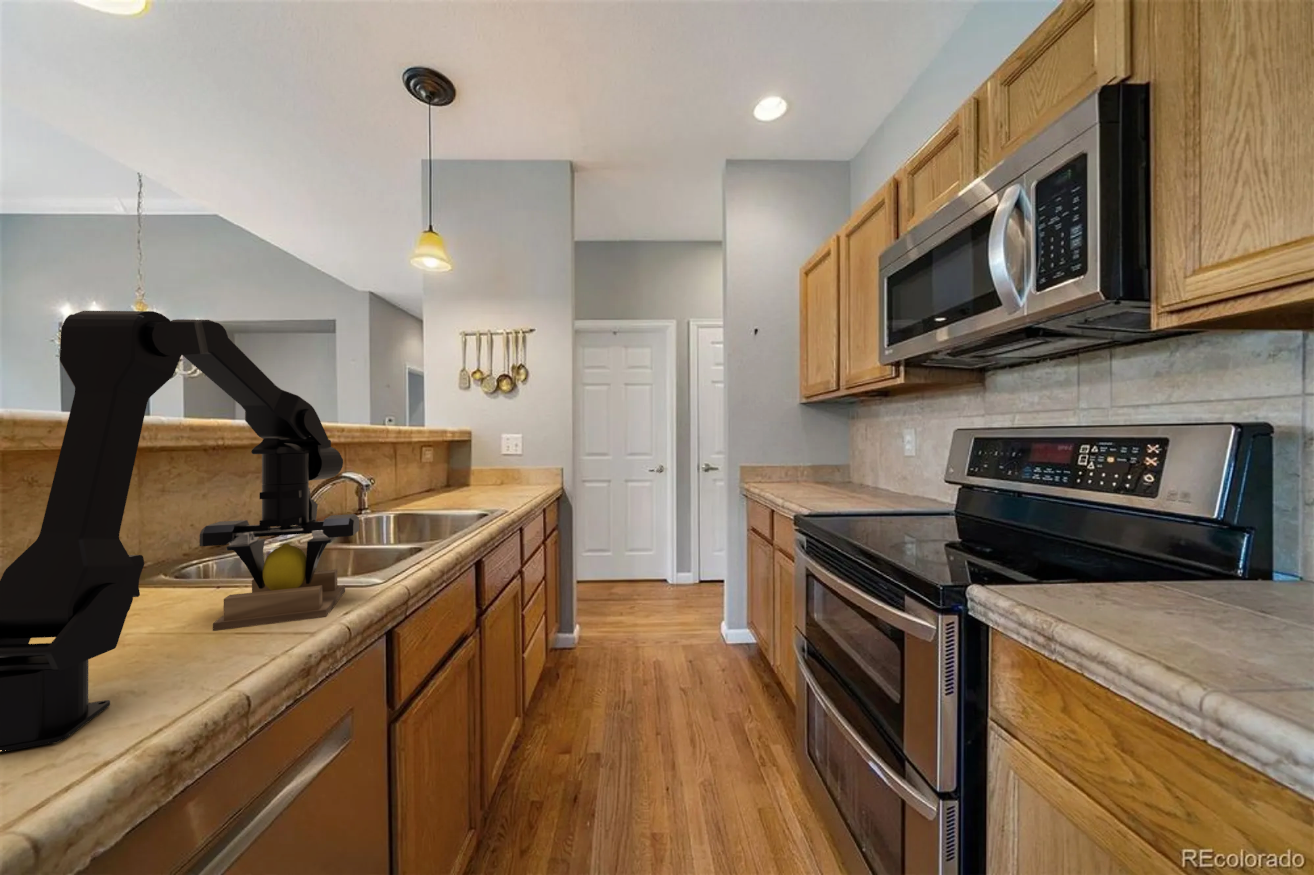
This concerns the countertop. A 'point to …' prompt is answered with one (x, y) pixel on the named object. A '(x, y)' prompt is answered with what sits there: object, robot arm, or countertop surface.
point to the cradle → (281, 603)
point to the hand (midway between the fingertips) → (285, 585)
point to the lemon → (284, 568)
